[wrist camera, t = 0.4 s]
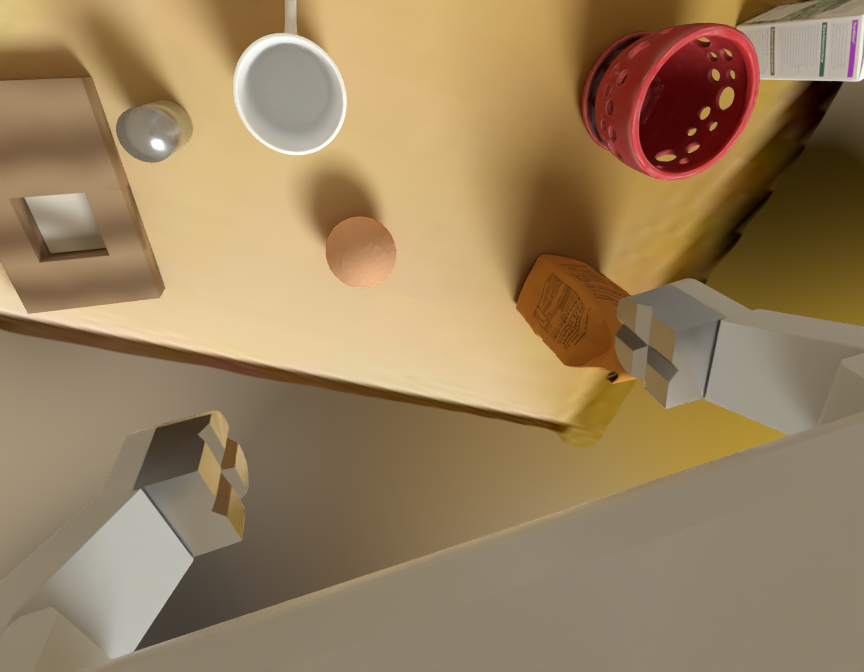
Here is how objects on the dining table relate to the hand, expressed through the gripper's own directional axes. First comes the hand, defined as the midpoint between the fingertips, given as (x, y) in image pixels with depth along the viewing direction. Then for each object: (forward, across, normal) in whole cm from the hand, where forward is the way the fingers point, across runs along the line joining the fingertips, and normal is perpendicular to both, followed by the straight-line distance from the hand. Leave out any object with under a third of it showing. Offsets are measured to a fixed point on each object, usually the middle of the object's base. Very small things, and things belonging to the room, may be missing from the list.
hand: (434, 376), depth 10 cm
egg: (+45, 0, +13) cm, 47 cm away
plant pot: (+45, -33, +4) cm, 56 cm away
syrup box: (+45, -49, +1) cm, 67 cm away
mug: (+45, +2, -5) cm, 45 cm away
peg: (+45, +14, -2) cm, 47 cm away
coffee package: (+45, -25, +26) cm, 57 cm away
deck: (+45, +26, +2) cm, 51 cm away
